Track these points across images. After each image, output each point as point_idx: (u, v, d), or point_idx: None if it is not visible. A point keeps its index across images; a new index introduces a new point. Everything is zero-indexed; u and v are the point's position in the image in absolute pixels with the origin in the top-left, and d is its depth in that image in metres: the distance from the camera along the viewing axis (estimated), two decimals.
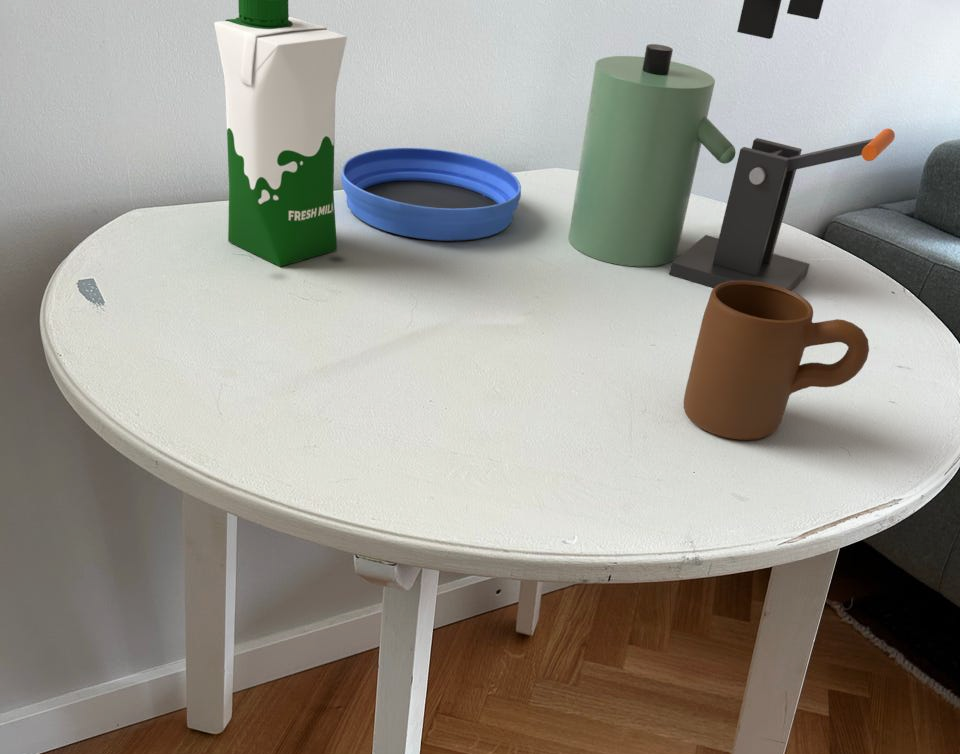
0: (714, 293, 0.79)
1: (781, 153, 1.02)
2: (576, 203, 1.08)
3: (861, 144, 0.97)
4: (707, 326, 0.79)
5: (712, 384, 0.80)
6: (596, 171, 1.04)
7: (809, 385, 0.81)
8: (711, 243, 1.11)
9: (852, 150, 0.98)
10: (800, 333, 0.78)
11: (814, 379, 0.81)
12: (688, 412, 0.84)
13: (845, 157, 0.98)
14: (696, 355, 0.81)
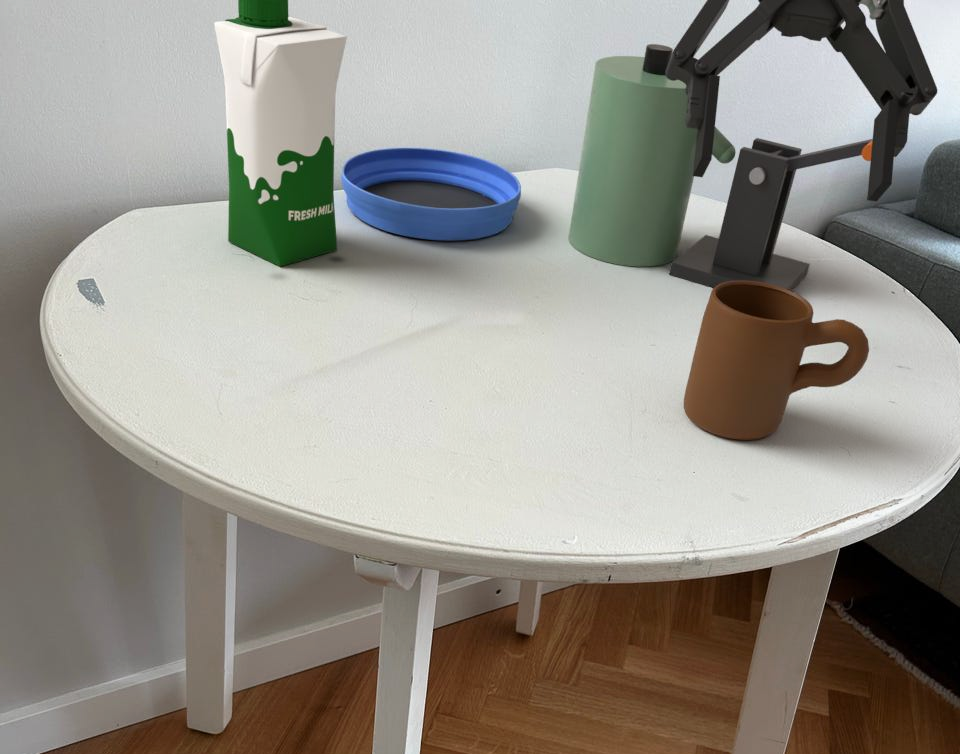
0: (714, 293, 0.79)
1: (781, 153, 1.02)
2: (576, 203, 1.08)
3: (861, 144, 0.97)
4: (707, 326, 0.79)
5: (712, 384, 0.80)
6: (596, 171, 1.04)
7: (809, 385, 0.81)
8: (711, 243, 1.11)
9: (852, 150, 0.98)
10: (800, 333, 0.78)
11: (814, 379, 0.81)
12: (688, 412, 0.84)
13: (845, 157, 0.98)
14: (696, 355, 0.81)
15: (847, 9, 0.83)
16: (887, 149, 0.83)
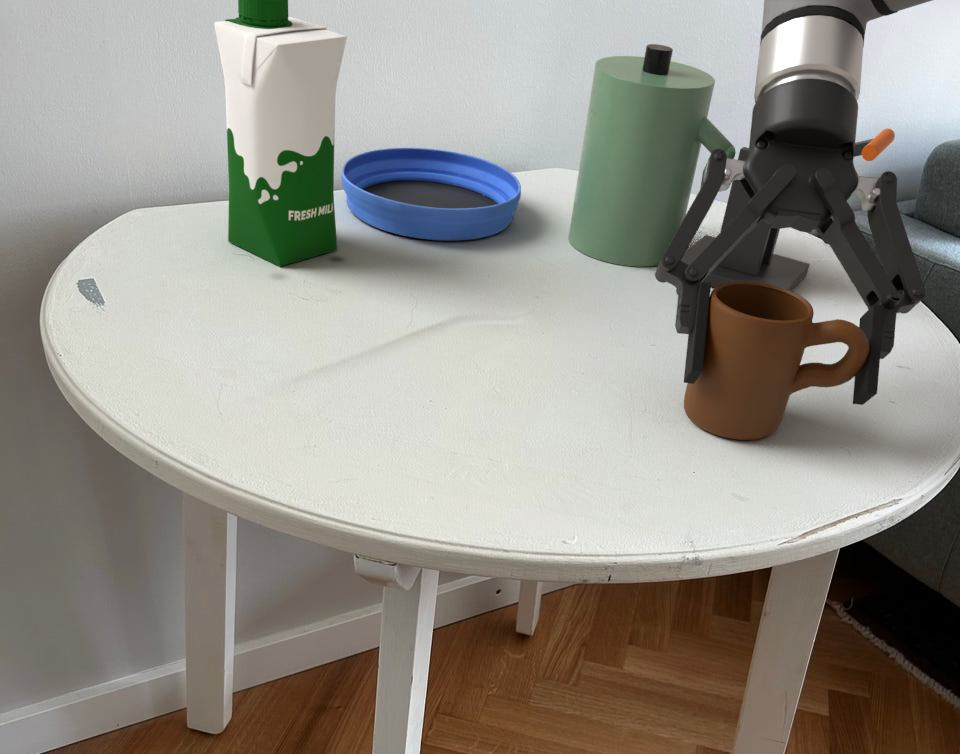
0: (714, 293, 0.79)
1: None
2: (576, 203, 1.08)
3: (861, 144, 0.97)
4: (707, 326, 0.79)
5: (713, 384, 0.80)
6: (596, 171, 1.04)
7: (809, 385, 0.81)
8: None
9: None
10: (800, 333, 0.78)
11: (815, 379, 0.81)
12: (688, 412, 0.84)
13: None
14: None
15: (838, 205, 0.80)
16: (872, 356, 0.79)
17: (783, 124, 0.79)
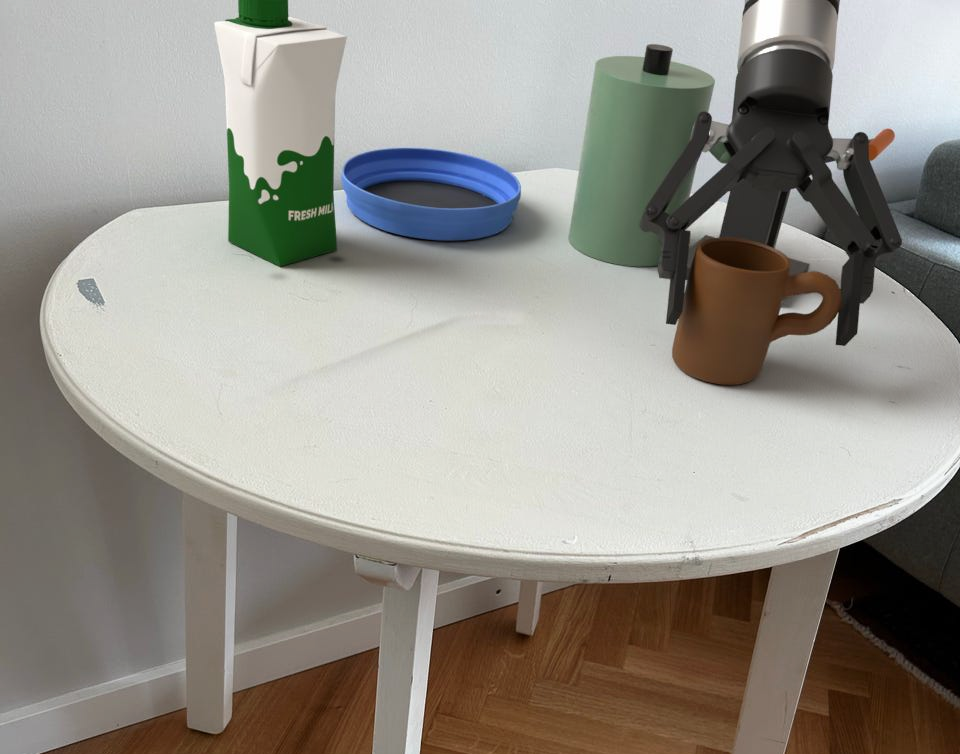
0: (699, 248, 0.86)
1: None
2: (576, 203, 1.08)
3: None
4: (693, 278, 0.86)
5: (698, 332, 0.87)
6: (596, 171, 1.04)
7: (787, 333, 0.88)
8: None
9: None
10: (778, 283, 0.85)
11: (792, 327, 0.87)
12: (676, 360, 0.90)
13: None
14: (683, 306, 0.88)
15: (813, 165, 0.86)
16: (853, 299, 0.86)
17: (762, 91, 0.86)
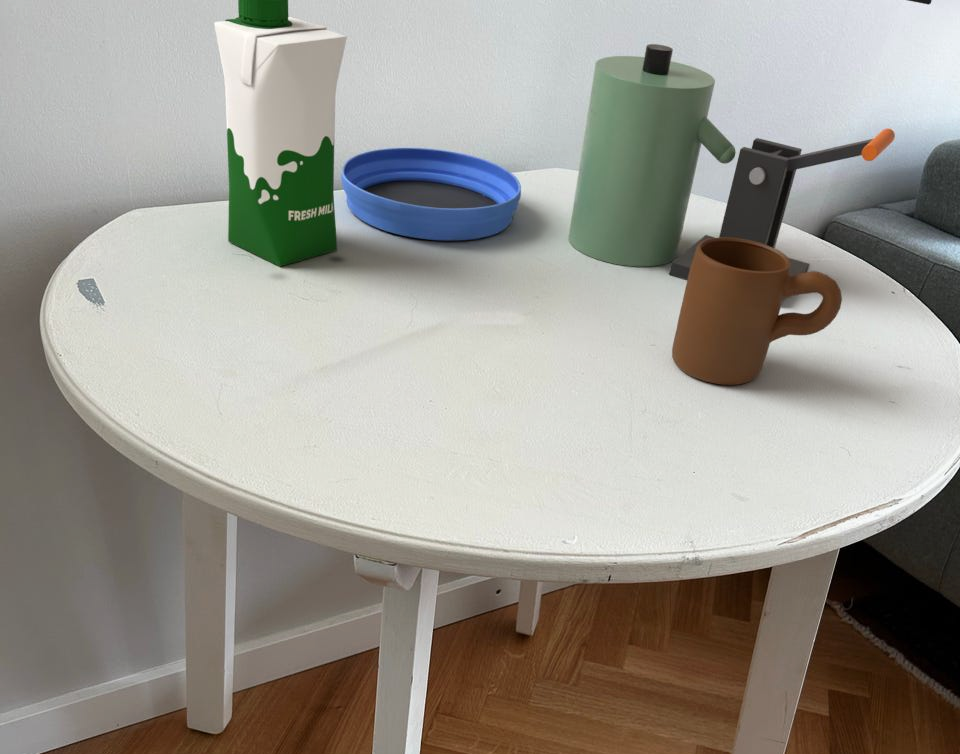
0: (699, 248, 0.86)
1: (781, 153, 1.02)
2: (576, 203, 1.08)
3: (861, 144, 0.97)
4: (693, 278, 0.86)
5: (698, 332, 0.87)
6: (596, 171, 1.04)
7: (787, 333, 0.88)
8: None
9: (852, 150, 0.98)
10: (778, 283, 0.85)
11: (792, 327, 0.87)
12: (676, 360, 0.90)
13: (845, 157, 0.98)
14: (683, 306, 0.88)
15: None
16: None
17: None
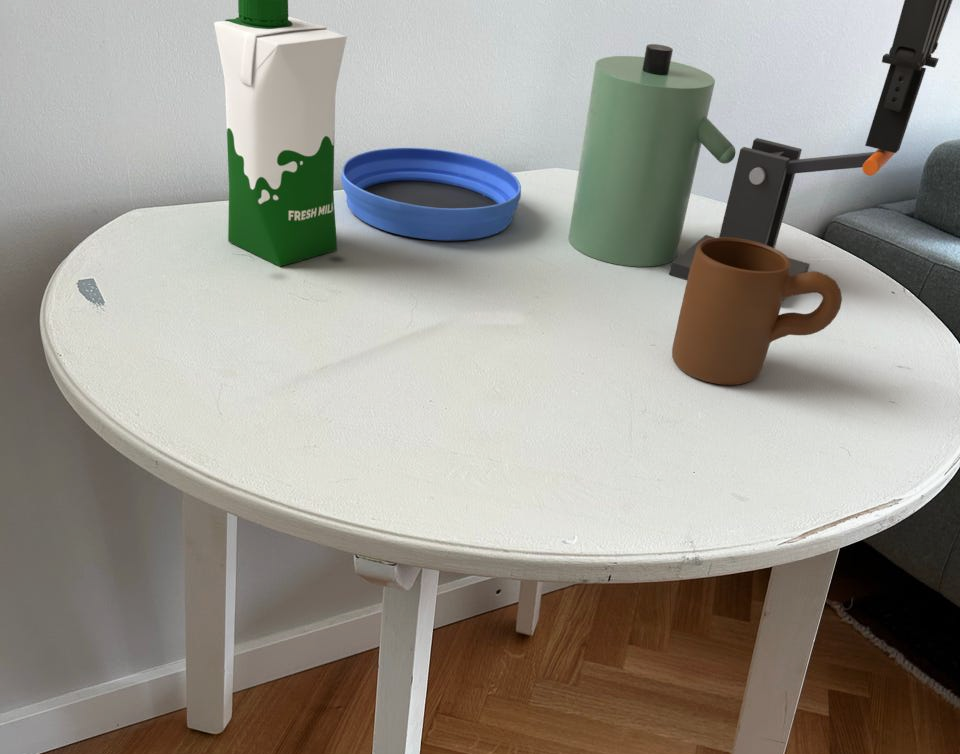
0: (699, 248, 0.86)
1: (782, 155, 1.02)
2: (576, 203, 1.08)
3: (862, 156, 0.97)
4: (693, 278, 0.86)
5: (698, 332, 0.87)
6: (596, 171, 1.04)
7: (787, 333, 0.88)
8: None
9: (853, 161, 0.98)
10: (778, 283, 0.85)
11: (792, 327, 0.87)
12: (676, 360, 0.90)
13: (845, 167, 0.99)
14: (683, 306, 0.88)
15: None
16: (908, 118, 0.95)
17: None
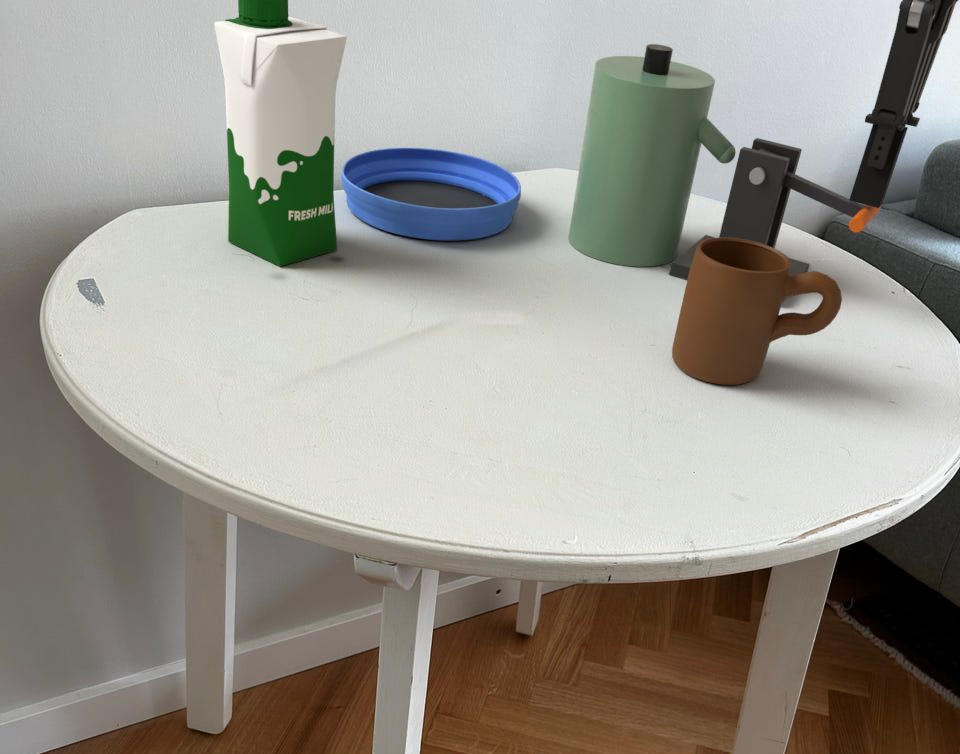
0: (699, 248, 0.86)
1: None
2: (576, 203, 1.08)
3: (853, 206, 1.00)
4: (693, 278, 0.86)
5: (698, 332, 0.87)
6: (596, 171, 1.04)
7: (787, 333, 0.88)
8: None
9: (843, 206, 1.00)
10: (778, 283, 0.85)
11: (792, 327, 0.87)
12: (676, 360, 0.90)
13: (834, 207, 1.01)
14: (683, 306, 0.88)
15: None
16: (891, 174, 0.98)
17: None
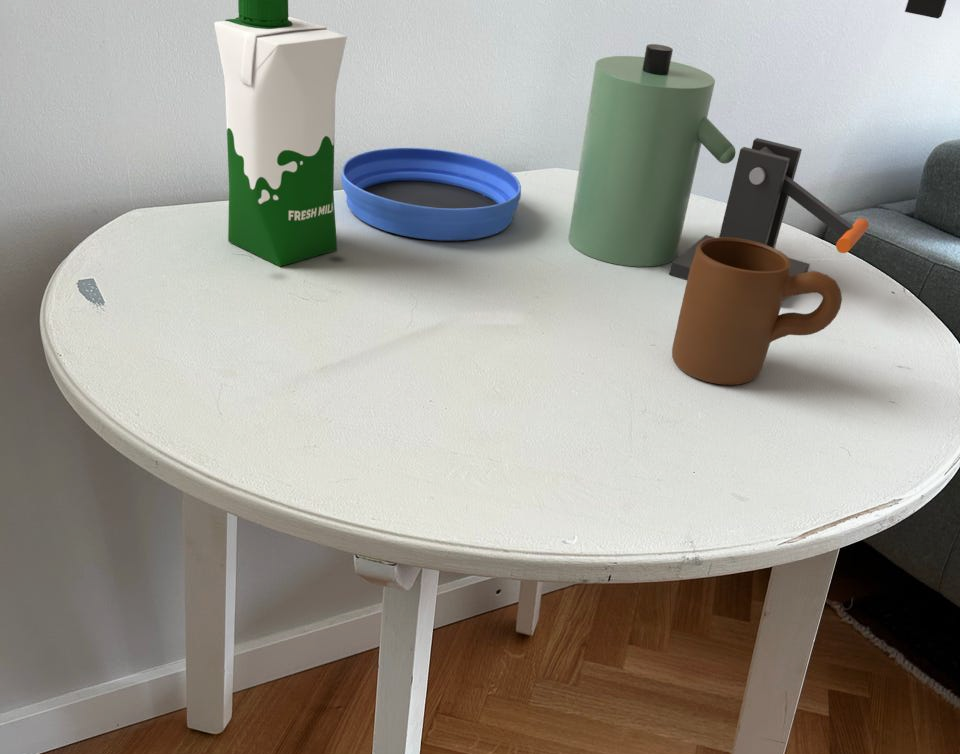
0: (699, 248, 0.86)
1: None
2: (576, 203, 1.08)
3: (842, 224, 1.01)
4: (693, 278, 0.86)
5: (698, 332, 0.87)
6: (596, 171, 1.04)
7: (787, 333, 0.88)
8: None
9: (833, 222, 1.01)
10: (778, 283, 0.85)
11: (792, 327, 0.87)
12: (676, 360, 0.90)
13: (824, 222, 1.02)
14: (683, 306, 0.88)
15: None
16: None
17: None
